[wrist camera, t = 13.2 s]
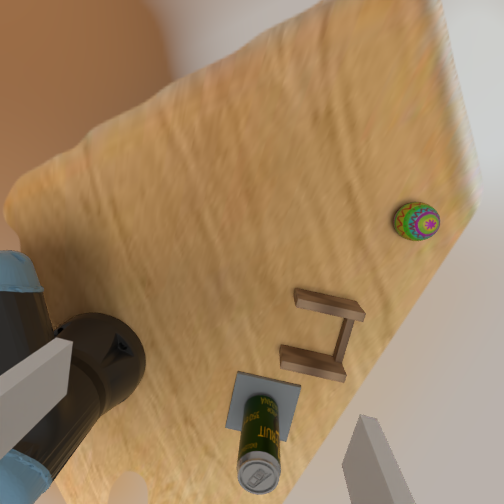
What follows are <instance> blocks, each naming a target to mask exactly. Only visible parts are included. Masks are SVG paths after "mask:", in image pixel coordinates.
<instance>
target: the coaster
mask: <svg viewBox="0 0 504 504" xmlns="http://www.w3.org/2000/svg"><path fill="white" fill-rule="evenodd" d="M300 390H301V385H297V384H293V383H288V382H284V381H279V380H275V379H270V378H266V377H262V376H257V375H253V374H248V373H244V372H240V371H238V373H237V377H236V382H235V386H234V391H233V395H232V400H231V404H230V409H229V413H228V418H227V422H226V427H225V428H229V429H233V430H237V431H241V429H242V421H243V413H244V406H245V403H246V402H247V400H248V399H249V398H250V397H252V396H253V395H256V394H267V395H269V396H270V397H272V398H273V399H274V400H275V402H276V404H277V405H278V410H279V434H280V440H281V441H285V442H286V441H287V437H288V433H289V430H290V426H291V423H292V419H293V415H294V412H295V408H296V405H297V401H298V397H299V394H300Z"/></svg>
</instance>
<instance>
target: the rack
mask: <svg viewBox="0 0 504 504" xmlns="http://www.w3.org/2000/svg"><path fill="white" fill-rule="evenodd" d="M294 300H295V305H296V307H298V308H302V309H307V310H311V311H316V312H320V313H325V314H329V315H334V316H338V317H343V318H344V320H343V324H342V327H341V331H340V334H339V337H338V341H337V344H336V348H335V351H334V354H333V356H330V355H326V354H321V353H317V352H312V351H308V350H303V349H299V348H295V347H290V346H286V345H281V347H280V351H279V354H280V369H285V370H289V371H294V372H298V373H303V374H307V375H311V376H316V377H320V378H325V379H329V380H334V381H338V382H342V383H344V382H345V379H346V376H347V375H346V372H345V370H344V367H343V365H342V361H343V357H344V354H345V351H346V347H347V344H348V341H349V337H350V334H351V331H352V328H353V324H354V321H355V320H356V321H361V322H363V321H364V318H365V315H366V313H365V312H364V311H363V309H362V308H361V307H360V305H359V304H358V303H357V302H356V301H353V300H348V299H344V298H339V297H334V296H330V295H325V294H321V293H316V292H312V291H307V290H303V289H298V288H295V292H294Z"/></svg>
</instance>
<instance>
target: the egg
mask: <svg viewBox="0 0 504 504" xmlns="http://www.w3.org/2000/svg"><path fill="white" fill-rule="evenodd" d="M439 226H440V217H439V215H438V213H437V211H436V210H435V209H434V208H433V207H431V206H430V205H428V204H425V203H421V202H413V203H409V204H406V205H404V206H403V207H401V208H400V209H399V210H398V211H397V213H396V214H395V217H394V227H395V229H396V231H397V233H398V234H399V235H400V236H402V237H403V238H405V239H408V240H412V241H421V240H425V239H428V238H430V237H431V236H433V235H434V234H435V233H436V232H437V230H438V229H439Z"/></svg>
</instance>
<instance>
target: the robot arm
mask: <svg viewBox="0 0 504 504" xmlns="http://www.w3.org/2000/svg"><path fill="white" fill-rule="evenodd" d="M43 291H44V288H43V287H42V286H41V285H40V282H39V280H38V277H37V274H36V271H35V268H34V265H33V263H32V261H31V259H30V258H29V257H28V256H27V255H25V254H23V253H21V252H18V251H12V250H6V251H5V250H3V251H0V504H34V503H35V501H36V500H37V499H38V498H39V497H40V496H41V494H42V493H44V492H45V491H46V490H47V489H48V488H49V487H50V485H51V483H52V482H53V480H54V479H55V478H56V476H57V475H58V474H59V472H60V471H61V469H62V468H63V467H64V465H65V464H66V463H67V461H68V460H69V458H70V457H71V456H72V454H73V453H74V452H75V450H76V449H77V447H78V446H79V445H80V443H81V442H82V441H83V439H84V438H85V436H86V435H87V434H88V432H89V431H90V430H91V428H92V427H93V425H94V424H95V423H96V421H97V420H98V419H99V417H100V416H102V415H103V414H105V413H106V412H107V411H109V410H110V409H112V408H113V407H115V406H116V405H118V404H120V403H121V402H123V401H124V400H126V399H127V398H128V397H129V396H130V395H131V394H132V393H133V391H134V390H135V388H136V387H137V385H138V384H139V383H140V381H141V379H142V377H143V374H144V370H145V354H144V350H143V347H142V345H141V343H140V341H139V339H138V338H137V336H136V335H135V333H134V332H133V331H132V330H131V329H130V328H129V327H128V326H127V325H125V324H124V323H123V322H121V321H119V320H118V319H116V318H114V317H111V316H108V315H105V314H100V313H86V314H81V315H78V316H75V317H73V318H71V319H69V320H68V321H66V322H65V323H63V324H62V325H60V326H59V327H58V328H56V329H55V330H54V331H53V329H52V325H51V321H50V318H49V314H48V311H47V307H46V303H45V299H44V295H43ZM342 468H343V472H344V476H345V480H346V484H347V488H348V492H349V495H350V500H351V504H416V503H415V501H414V499H413V497H412V495H411V493H410V490H409V488H408V486H407V484H406V481H405V479H404V477H403V475H402V473H401V471H400V468H399V466H398V464H397V461H396V459H395V457H394V455H393V453H392V450H391V448H390V446H389V444H388V442H387V439H386V438H385V435H384V433H383V431H382V428H381V426H380V424H379V422H378V420H377V419H376V418H372V417H368V416H365V415H360V416H359V418H358V421H357V424H356V427H355V430H354V432H353V435H352V438H351V441H350V444H349V446H348V449H347V452H346V454H345V458H344V460H343V463H342Z"/></svg>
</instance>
